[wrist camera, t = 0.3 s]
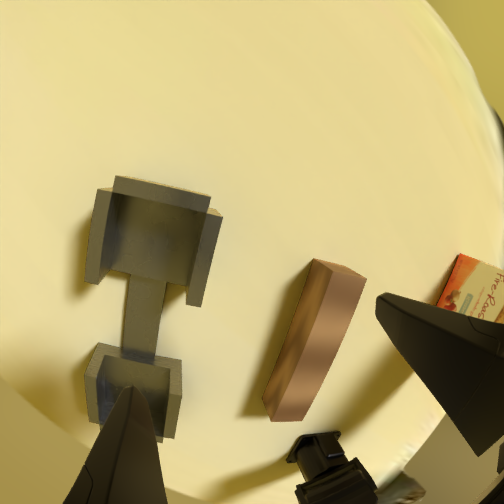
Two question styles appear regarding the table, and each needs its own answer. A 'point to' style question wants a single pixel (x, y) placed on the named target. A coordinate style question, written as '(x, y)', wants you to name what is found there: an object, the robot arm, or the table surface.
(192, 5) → the table surface
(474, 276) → the cracker box
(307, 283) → the walnut rail
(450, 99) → the table surface
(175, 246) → the brackets
